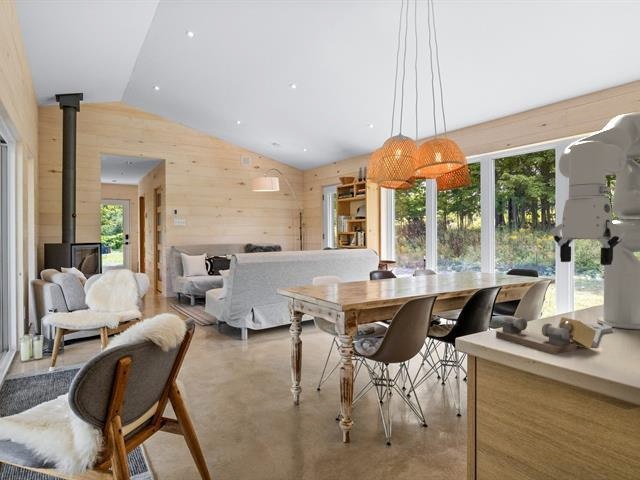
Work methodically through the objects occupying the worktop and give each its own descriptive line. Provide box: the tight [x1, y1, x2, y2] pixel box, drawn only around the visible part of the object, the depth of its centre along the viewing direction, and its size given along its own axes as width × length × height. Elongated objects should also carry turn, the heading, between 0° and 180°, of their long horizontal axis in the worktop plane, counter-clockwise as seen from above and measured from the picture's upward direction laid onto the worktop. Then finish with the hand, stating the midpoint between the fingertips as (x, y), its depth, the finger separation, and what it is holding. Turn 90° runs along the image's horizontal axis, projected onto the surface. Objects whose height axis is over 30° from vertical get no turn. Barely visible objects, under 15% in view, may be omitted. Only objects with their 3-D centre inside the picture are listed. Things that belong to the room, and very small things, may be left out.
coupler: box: [557, 316, 596, 350], centre depth 97 cm, size 4×4×7 cm
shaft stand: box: [495, 315, 577, 355], centre depth 100 cm, size 8×16×6 cm, turn 25°
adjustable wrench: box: [584, 323, 613, 348], centre depth 108 cm, size 25×6×2 cm, turn 136°
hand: (585, 263), depth 99 cm, fingers open, 9 cm apart
